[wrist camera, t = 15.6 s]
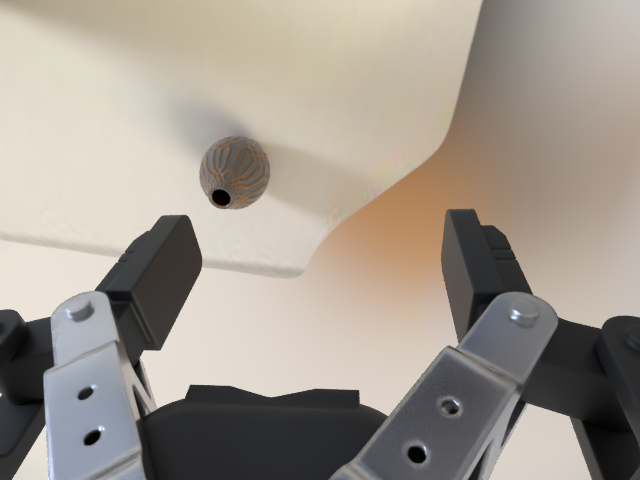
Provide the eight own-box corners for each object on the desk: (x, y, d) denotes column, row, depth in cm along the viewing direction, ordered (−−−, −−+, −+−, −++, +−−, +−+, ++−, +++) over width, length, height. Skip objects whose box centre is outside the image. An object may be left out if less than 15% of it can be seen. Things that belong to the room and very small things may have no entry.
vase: (239, 114, 42) (213, 148, 35) (288, 160, 44) (272, 201, 37) (200, 155, 45) (169, 195, 38) (247, 196, 48) (226, 240, 41)
